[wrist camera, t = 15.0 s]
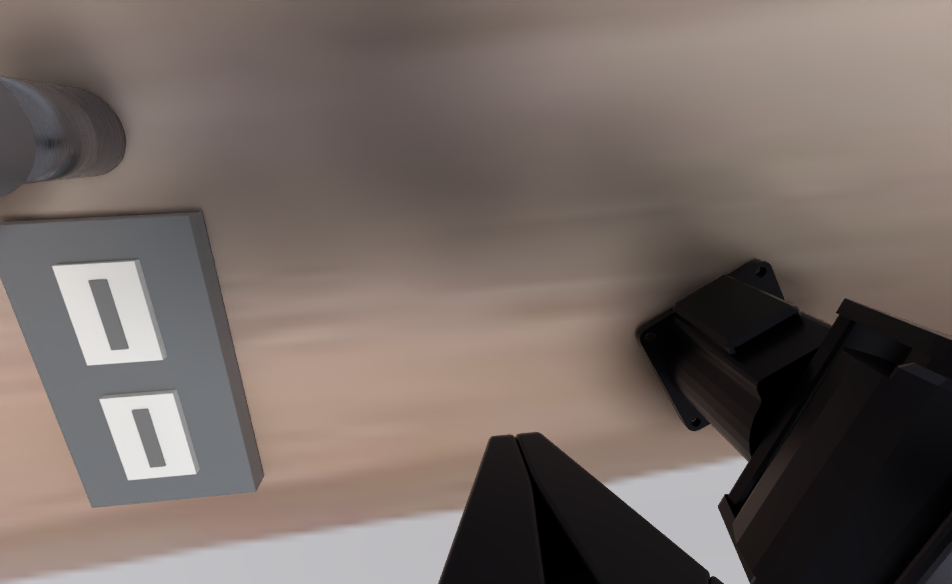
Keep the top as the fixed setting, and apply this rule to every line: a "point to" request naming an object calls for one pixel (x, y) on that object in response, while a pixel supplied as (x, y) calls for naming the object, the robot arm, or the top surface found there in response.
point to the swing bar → (14, 143)
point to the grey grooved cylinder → (68, 130)
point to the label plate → (133, 353)
